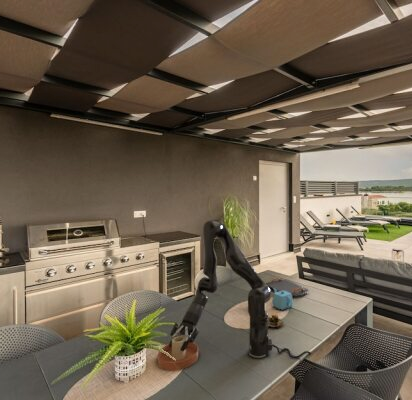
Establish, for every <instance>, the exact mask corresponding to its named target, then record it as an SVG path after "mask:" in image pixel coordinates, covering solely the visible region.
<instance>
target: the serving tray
mask: <svg viewBox="0 0 412 400" xmlns="http://www.w3.org/2000/svg"><path fill="white" fill-rule="evenodd" d="M265 283H266V285H267V286H268V287H269V289H273V288H275V289H276V291H277V292H280V291H287V292H289V293H291V295H292V297H295V296H300V295H305V294H306V293H307V292H308V293H309V292H310V289H308V288H305V287H304V286H301V285H299V284H296V283H294V282H293V281H289V280H288V279H282V278H280V277H274V278H272V279H271V280H270V281H268V282H265ZM273 290H274V289H273Z"/></svg>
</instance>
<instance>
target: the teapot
mask: <svg viewBox="0 0 412 400" xmlns="http://www.w3.org/2000/svg"><path fill="white" fill-rule="evenodd" d="M273 291H274V294H273V296H272V301H271V303H272V304H271V305H272V307H274V308H276V309H278V310H280V309H282V310H281V311H285V310H287V309H290V308H291V307H293V305H294V300H293V299H294V298H293V296H292V295H291V293H289V292H287V291H280V292H278V291H276V289H275V288H273ZM286 308H287V309H286Z"/></svg>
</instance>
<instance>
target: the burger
mask: <svg viewBox="0 0 412 400" xmlns="http://www.w3.org/2000/svg"><path fill="white" fill-rule="evenodd" d="M268 327H271V328H277V329H281V327H284V321H283V319H282V318H280V317H279V315H278V314H277V311H276V313H273V314H271V315H270V316H269V315H268Z"/></svg>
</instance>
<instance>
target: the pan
mask: <svg viewBox="0 0 412 400" xmlns="http://www.w3.org/2000/svg"><path fill="white" fill-rule="evenodd" d="M161 349H163V350H164V351H166V352H168V353H169V354H170V355H171V356H172V347H170V346H169V343H168V344H166V345H164V346H163V347H161ZM199 355H200V348H199V345H198V344H197V343H195V341H194V342H193V343H189V344H188V345H187V348H186V356H185V358H184V359H182V360H179V361H175V360H173V359H172V358H170V357H169V356H167V355H166V354H164V353H162V352H160V350H159V351H158V353H157V364H158V366H159V367H160V369H163V370H166V371H180V370H183V369H187V368H190V367H191V366H192V365H194V364H195V363H196V362H197V361H198V359H199Z"/></svg>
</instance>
